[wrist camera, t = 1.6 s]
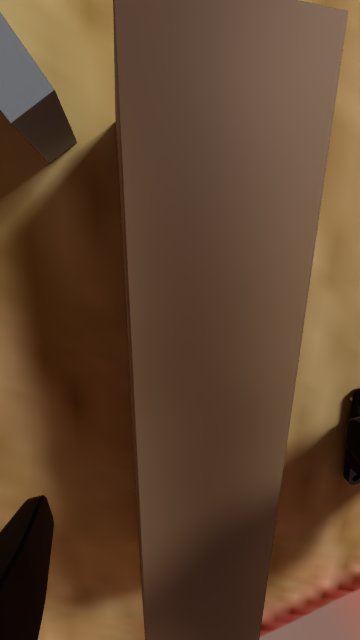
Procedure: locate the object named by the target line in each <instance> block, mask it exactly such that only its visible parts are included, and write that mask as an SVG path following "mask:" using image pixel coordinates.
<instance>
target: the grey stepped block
mask: <svg viewBox="0 0 360 640" xmlns="http://www.w3.org/2000/svg"><path fill="white" fill-rule="evenodd" d="M0 110H1V111H2V112H3V114H4V115H5V116H6V118H7V119H8V120H9V121H10V123H11V124H12V125H13V126H14V127H15V128H16V129H17V130H18V131H19V132H20V133H21V134H22V135H23V137H24V138H25V139H26V140H27V141H28V142H29V143H30V144H31V145H32V146H33V147H34V148H35V149H36V150H37V151H38V153H39V154H40V155H41V156H42V157H43V158H44V159H45V160H46V161H47V162H48V163H50V162H52V161H53V160H54V159H55V158H57V157H58V156H59V155H61V154H62V153H63V152H65V151H66V150H67V149H69V148H70V147H71V146H72V145H74V144H75V143H76V142H77V141H76V138H75V136H74V134H73V131H72V129H71V127H70V124H69V122H68V120H67V118H66V115H65V113H64V111H63V108H62V106H61V104H60V101H59V99H58V97H57V94H56V92H55V90H54V88H53V87H52V85H51V84H50V83H49V81H48V80H47V78H46V77H45V75H44V74H43V73H42V71H41V70H40V68H39V67H38V65H37V64H36V63H35V61H34V60H33V58H32V57H31V55H30V54H29V53H28V51H27V50H26V48H25V47H24V45H23V44H22V43H21V41H20V40H19V38H18V37H17V35H16V34H15V33H14V31H13V30H12V28H11V27H10V25H9V24H8V23H7V21H6V20H5V18H4V17H3V15H2V14H1V13H0Z"/></svg>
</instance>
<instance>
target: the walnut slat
mask: <svg viewBox="0 0 360 640" xmlns="http://www.w3.org/2000/svg"><path fill="white" fill-rule="evenodd" d="M113 13H114V63H115V113H116V137H117V155H118V173H119V192H120V210H121V228H122V246H123V265H124V283H125V301H126V320H127V338H128V356H129V375H130V393H131V411H132V429H133V448H134V466H135V484H136V503H137V521H138V539H139V555H140V569H141V584H142V599H143V614H144V628H145V640H259V637H260V630H261V623H262V616H263V609H264V602H265V594H266V587H267V580H268V573H269V566H270V559H271V552H272V545H273V538H274V531H275V524H276V517H277V510H278V503H279V496H280V489H281V482H282V474H283V467H284V460H285V453H286V446H287V439H288V432H289V425H290V418H291V411H292V404H293V397H294V390H295V383H296V376H297V369H298V361H299V354H300V347H301V340H302V333H303V326H304V319H305V312H306V305H307V298H308V291H309V284H310V277H311V270H312V263H313V256H314V248H315V241H316V234H317V227H318V220H319V213H320V206H321V199H322V192H323V185H324V178H325V171H326V164H327V157H328V150H329V143H330V135H331V128H332V121H333V114H334V107H335V100H336V93H337V86H338V79H339V72H340V65H341V58H342V51H343V44H344V37H345V30H346V22H347V15H348V11H347V10H342V9H337V8H332V7H328V6H323V5H318V4H313V3H308V2H303V1H298V0H113Z"/></svg>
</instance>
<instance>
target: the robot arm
mask: <svg viewBox="0 0 360 640" xmlns="http://www.w3.org/2000/svg"><path fill="white" fill-rule="evenodd" d="M345 441H346V445H347V451H346V459H345V468H344V478H345V479H346V480H347V481H348V482H349V483H350V484H351V485H355V484H358V483H360V389H359V390H358V391H356V392H355V394H354V396H353V400H352V408H351V417H350V420H349V421H348V423H347V430H346V440H345ZM53 528H54V521H53V516H52V513H51V510H50V507H49V504H48V501H47V498H46V497H45V496H44V495H41V496H37V497H33V498H30V499H28V500H26V501H25V502H24V504H23V505H22V506H21V507H20V509H19V510H18V511H17V512H16V513H15V515H14V516H13V517H12V518H11V520H10V521H9V522H8V523H7V525H6V526H5V527H4V528H3V529H2V531H1V532H0V640H38V635H39V630H40V625H41V621H42V616H43V610H44V604H45V598H46V590H47V581H48V572H49V564H50V555H51V546H52V537H53Z"/></svg>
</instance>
